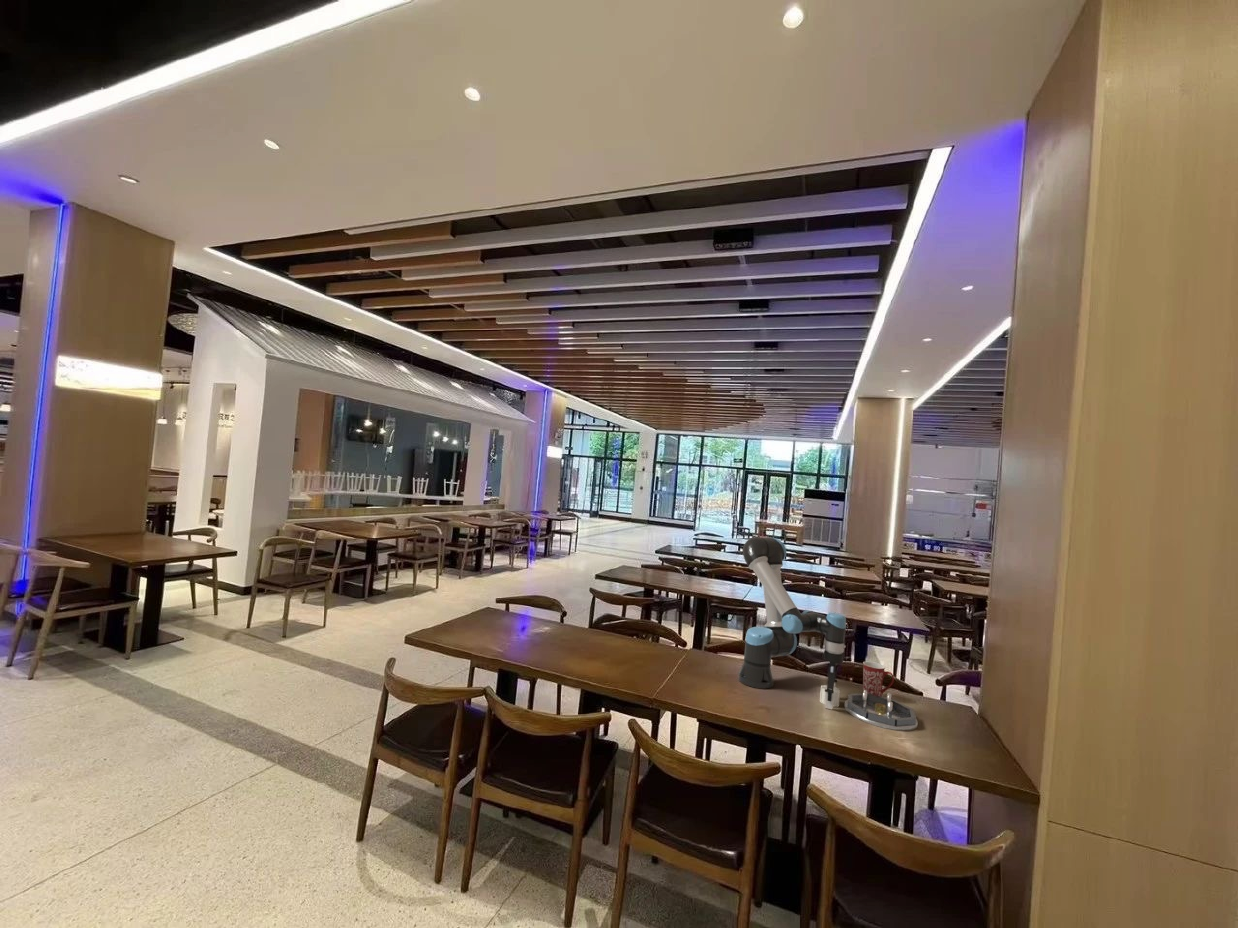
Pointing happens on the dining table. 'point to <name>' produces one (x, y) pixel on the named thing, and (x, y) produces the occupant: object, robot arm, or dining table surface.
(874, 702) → the tray
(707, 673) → the dining table surface
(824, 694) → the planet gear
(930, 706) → the dining table surface
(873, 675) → the mug
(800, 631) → the robot arm
